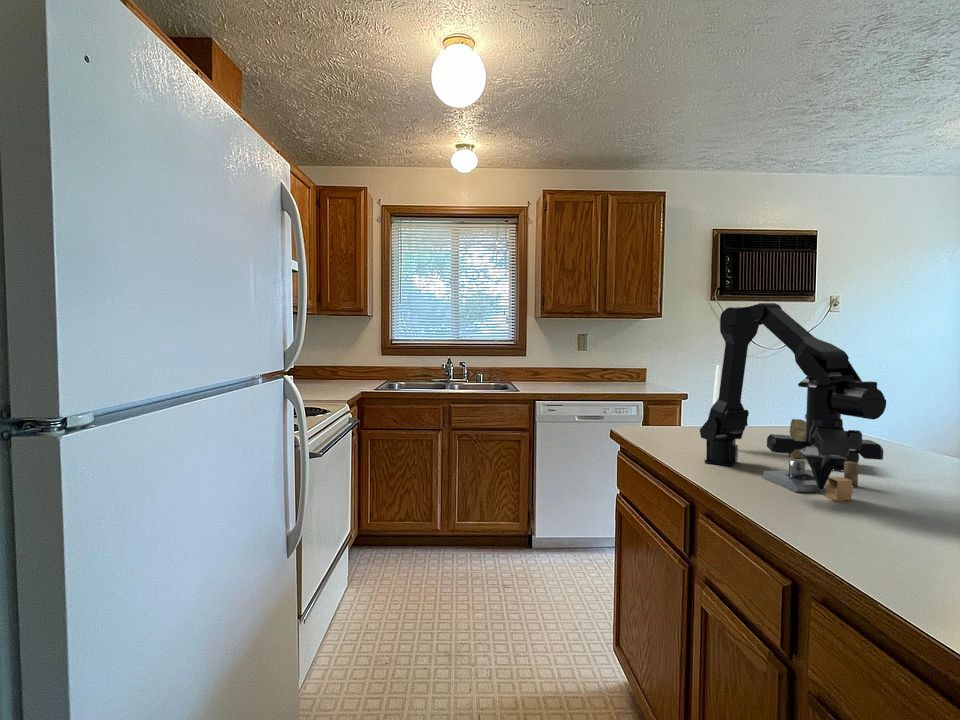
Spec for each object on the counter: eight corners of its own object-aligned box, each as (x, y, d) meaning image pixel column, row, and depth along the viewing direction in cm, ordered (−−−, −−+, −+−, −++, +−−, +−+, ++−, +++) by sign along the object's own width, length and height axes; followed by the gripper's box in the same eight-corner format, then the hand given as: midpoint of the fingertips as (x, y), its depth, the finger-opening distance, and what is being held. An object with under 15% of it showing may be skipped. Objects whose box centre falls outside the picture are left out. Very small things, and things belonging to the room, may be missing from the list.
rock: (826, 444, 141) (785, 436, 145) (835, 423, 135) (792, 416, 139) (829, 475, 134) (785, 466, 138) (838, 454, 128) (792, 445, 132)
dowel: (843, 486, 111) (844, 463, 110) (844, 483, 112) (844, 460, 112) (857, 488, 109) (857, 464, 109) (858, 485, 111) (858, 462, 111)
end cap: (859, 473, 120) (859, 445, 120) (822, 470, 124) (823, 442, 123) (852, 463, 129) (853, 437, 129) (819, 460, 133) (819, 434, 132)
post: (787, 483, 113) (788, 461, 113) (789, 480, 115) (790, 458, 115) (803, 486, 111) (804, 463, 111) (805, 482, 113) (805, 460, 113)
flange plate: (763, 477, 118) (763, 460, 117) (808, 476, 118) (809, 459, 118) (817, 501, 101) (818, 481, 100) (870, 499, 101) (871, 479, 101)
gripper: (780, 414, 98) (777, 495, 98) (898, 420, 92) (894, 506, 92) (767, 407, 108) (765, 480, 109) (872, 412, 102) (869, 489, 103)
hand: (820, 488), depth 103 cm, fingers closed
